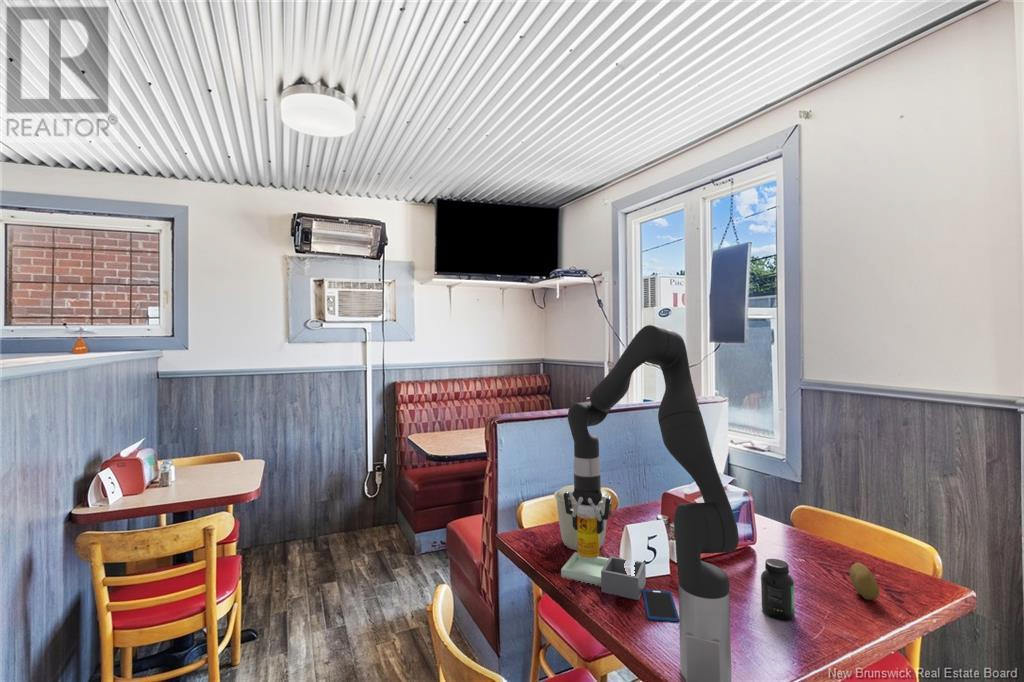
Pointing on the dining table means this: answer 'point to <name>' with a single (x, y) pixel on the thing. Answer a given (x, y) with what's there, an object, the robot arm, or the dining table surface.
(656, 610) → the cell phone
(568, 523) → the canister
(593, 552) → the beer can
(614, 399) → the robot arm
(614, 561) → the holder
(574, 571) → the tray
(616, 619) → the dining table surface
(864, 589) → the potato
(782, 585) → the supplement bottle
